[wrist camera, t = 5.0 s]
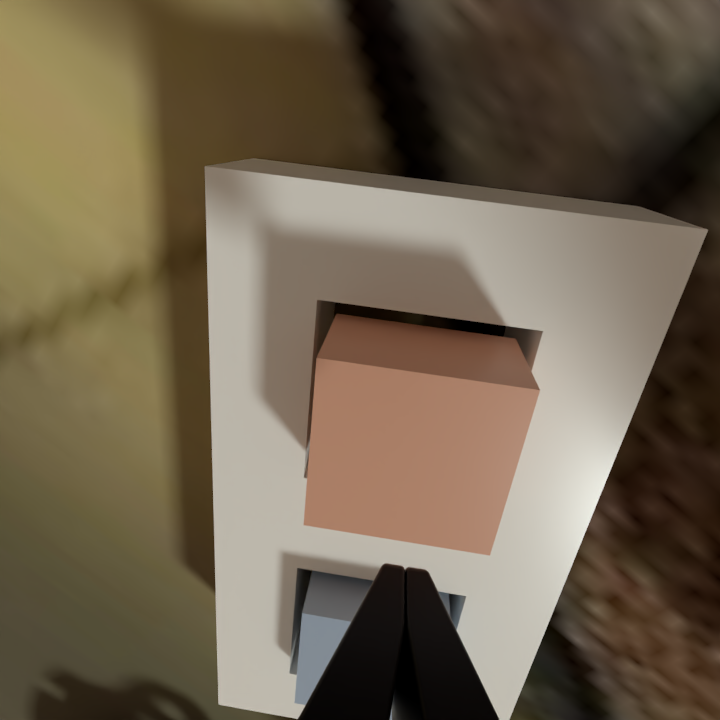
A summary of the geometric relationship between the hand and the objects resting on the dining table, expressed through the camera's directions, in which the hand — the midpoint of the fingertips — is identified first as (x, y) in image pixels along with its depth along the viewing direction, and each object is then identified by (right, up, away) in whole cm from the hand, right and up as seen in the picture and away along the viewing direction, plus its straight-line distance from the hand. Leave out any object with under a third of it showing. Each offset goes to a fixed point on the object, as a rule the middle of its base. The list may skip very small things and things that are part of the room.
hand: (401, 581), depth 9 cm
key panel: (+1, 0, +11) cm, 11 cm away
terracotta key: (+1, +3, +6) cm, 6 cm away
